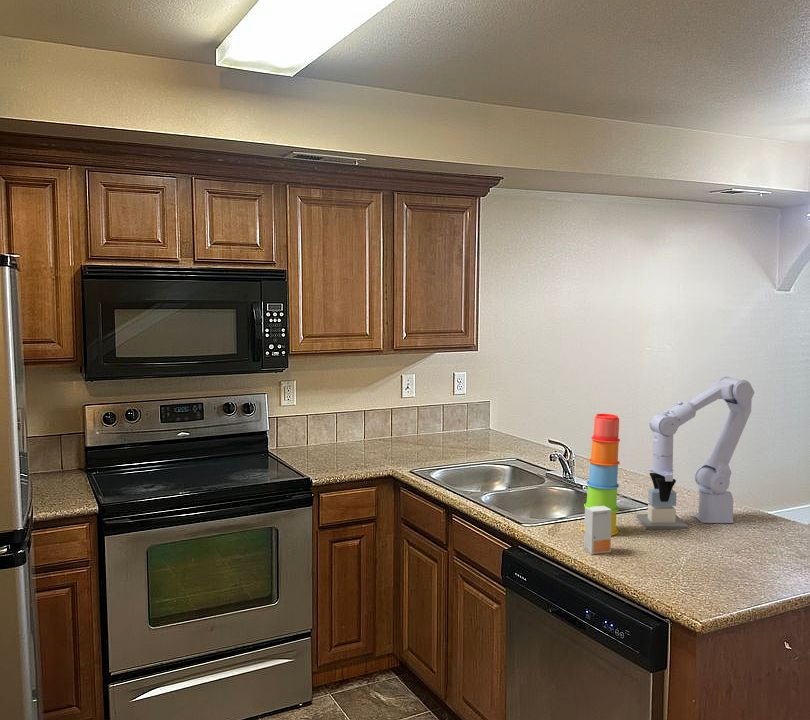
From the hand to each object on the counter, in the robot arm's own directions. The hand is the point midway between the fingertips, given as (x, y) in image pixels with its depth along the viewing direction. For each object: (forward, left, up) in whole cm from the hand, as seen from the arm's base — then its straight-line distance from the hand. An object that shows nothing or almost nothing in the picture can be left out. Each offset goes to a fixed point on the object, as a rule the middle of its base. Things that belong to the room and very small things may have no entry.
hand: (661, 499), depth 231 cm
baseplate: (0, 0, -8) cm, 8 cm away
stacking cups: (+20, +8, -8) cm, 23 cm away
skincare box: (+24, +25, -8) cm, 36 cm away
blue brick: (0, 0, -2) cm, 2 cm away
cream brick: (0, 0, -6) cm, 6 cm away
